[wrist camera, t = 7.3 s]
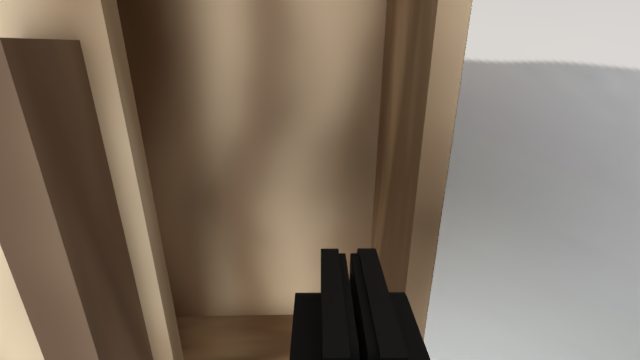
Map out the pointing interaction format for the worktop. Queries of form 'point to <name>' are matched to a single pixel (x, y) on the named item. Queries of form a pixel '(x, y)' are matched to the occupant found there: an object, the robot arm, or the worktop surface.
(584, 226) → the worktop surface
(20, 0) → the mailer lid
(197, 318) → the mailer box
